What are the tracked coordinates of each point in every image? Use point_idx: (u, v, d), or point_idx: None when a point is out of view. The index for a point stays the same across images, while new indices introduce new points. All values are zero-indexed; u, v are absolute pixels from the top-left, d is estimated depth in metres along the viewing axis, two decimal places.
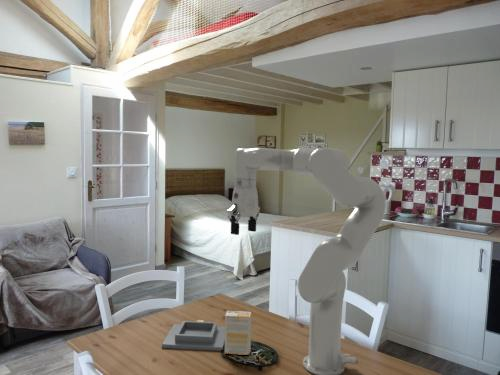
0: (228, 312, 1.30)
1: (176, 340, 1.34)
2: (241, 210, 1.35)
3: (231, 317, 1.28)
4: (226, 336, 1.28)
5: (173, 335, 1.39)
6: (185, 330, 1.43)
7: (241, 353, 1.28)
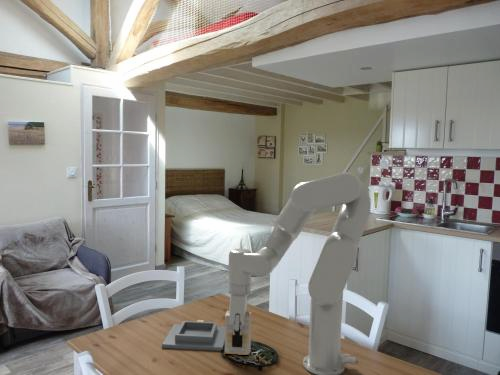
0: (228, 312, 1.30)
1: (176, 340, 1.34)
2: None
3: None
4: (226, 336, 1.28)
5: (173, 335, 1.39)
6: (185, 330, 1.43)
7: (241, 353, 1.28)
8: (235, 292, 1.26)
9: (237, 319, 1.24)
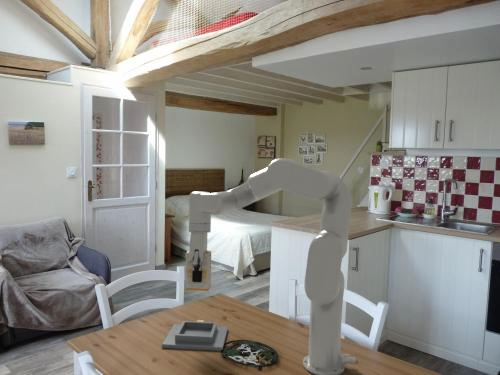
0: None
1: (176, 340, 1.34)
2: None
3: None
4: (187, 272, 1.37)
5: (173, 335, 1.39)
6: (185, 330, 1.43)
7: (201, 288, 1.37)
8: (194, 230, 1.34)
9: (196, 254, 1.33)
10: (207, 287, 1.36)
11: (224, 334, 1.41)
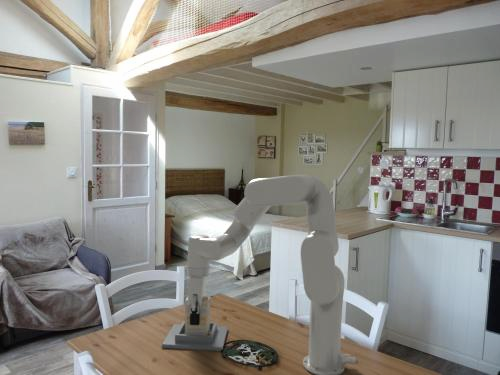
0: None
1: (176, 340, 1.34)
2: None
3: None
4: (186, 319, 1.38)
5: (173, 335, 1.39)
6: None
7: None
8: (193, 274, 1.35)
9: (194, 297, 1.33)
10: (206, 334, 1.37)
11: (224, 334, 1.41)
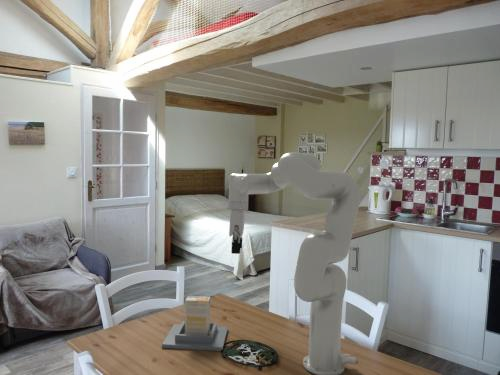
0: (188, 297, 1.40)
1: (176, 340, 1.34)
2: None
3: (191, 301, 1.37)
4: (186, 319, 1.38)
5: (173, 335, 1.39)
6: None
7: None
8: (234, 208, 1.49)
9: (236, 227, 1.46)
10: (206, 334, 1.37)
11: (224, 334, 1.41)
